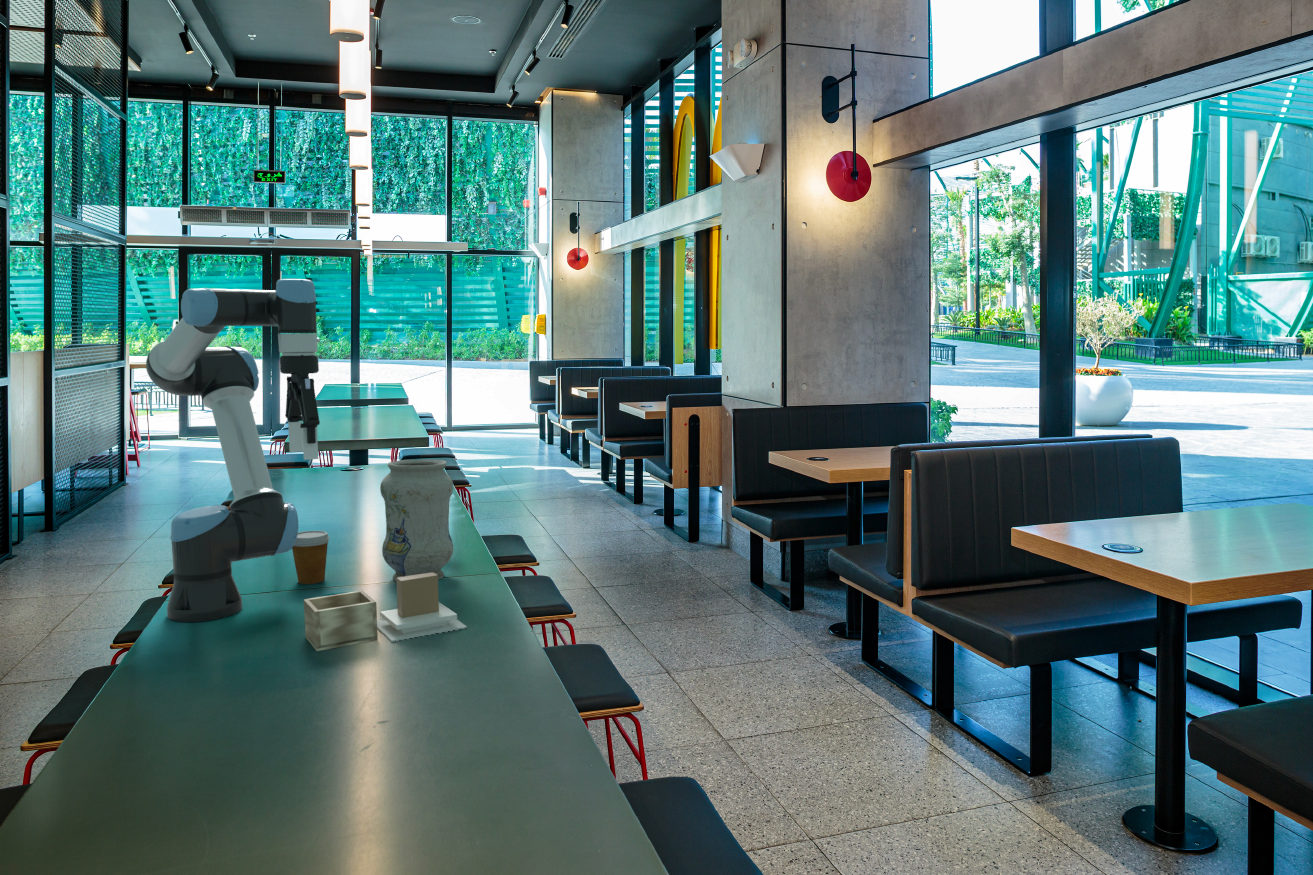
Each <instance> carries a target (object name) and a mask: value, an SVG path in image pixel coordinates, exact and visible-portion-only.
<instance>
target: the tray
mask: <svg viewBox="0 0 1313 875" xmlns="http://www.w3.org/2000/svg"><path fill="white" fill-rule="evenodd" d="M465 628H466V629H467V628H468V626H467V625H465V624H464V623H463V622H462V621H460V620H459V619H458V618H457V619H454V620H448V621H447V625H444V626H439V627H433V628H428V629H423V630H417V631H412V632H407V633H402V632H400V631H399V630H396V629H395V628H394V627H393V626H392V625H390V624H389V623H388V622H387V621H386V620H384V619H383V620H377V630H378V629H379V630H380V631H381V632H382V633H383V636H385V637H386V638H387V639H388V640H389V641H390V642H391V643H394V642H395V641H396V642H400V641H399V640H402V641H405V640H404V639H407V640H410V639H409V638H413V639H415V638H414V637H418V636H423V637H425V636H424V635H429V636H431V635H430V634H434V635H436V634H435V633H439V634H443V633H442V632H445V633H448V631H450V632H454V631H453V630H455V631H460V630H459V629H461V630H465ZM379 630H378V631H379ZM380 631H379V632H380ZM381 632H380V633H381ZM382 633H381V634H382ZM418 638H419V637H418ZM396 642H395V643H396Z"/></svg>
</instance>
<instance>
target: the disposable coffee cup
mask: <svg viewBox="0 0 1313 875" xmlns="http://www.w3.org/2000/svg"><path fill="white" fill-rule="evenodd" d="M330 539H331V538H330V536H329V534H328V532H327V531H324V530H306V531H298V535H297V539H296V542H295V544H294V546H293V547H292V549H291V551H292V554H293V562H294V567H295V571H296V572H295V573H296V577H297V582H298V584H301V585H313V584H319V583H322V582H324V581H325V578H326V566H327V557H328V556H327V555H328V544H329V540H330Z"/></svg>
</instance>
